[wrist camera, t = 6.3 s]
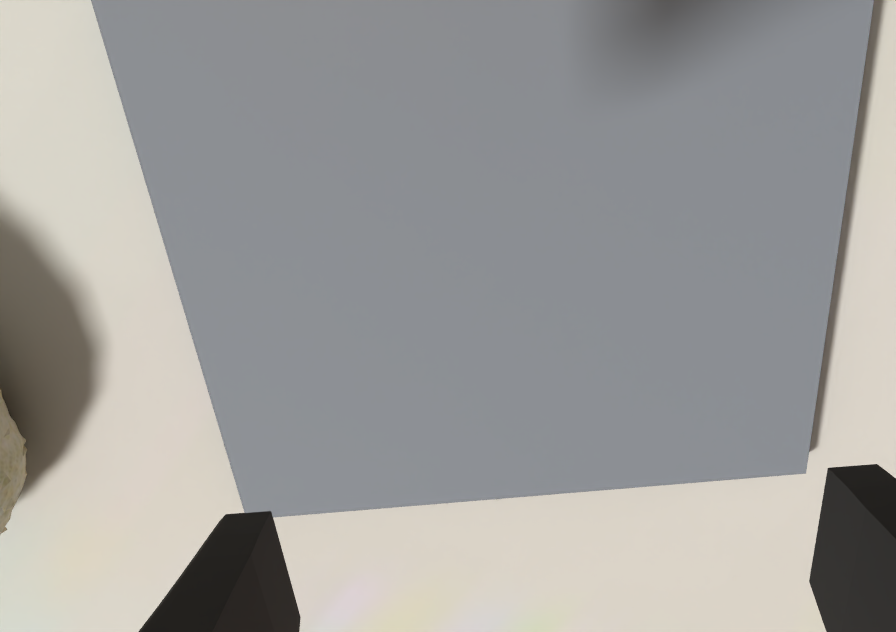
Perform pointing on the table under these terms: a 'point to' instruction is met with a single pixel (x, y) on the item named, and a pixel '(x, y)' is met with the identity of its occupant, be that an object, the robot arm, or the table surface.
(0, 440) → the sea urchin shell
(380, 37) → the T board
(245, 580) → the robot arm
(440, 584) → the table surface
